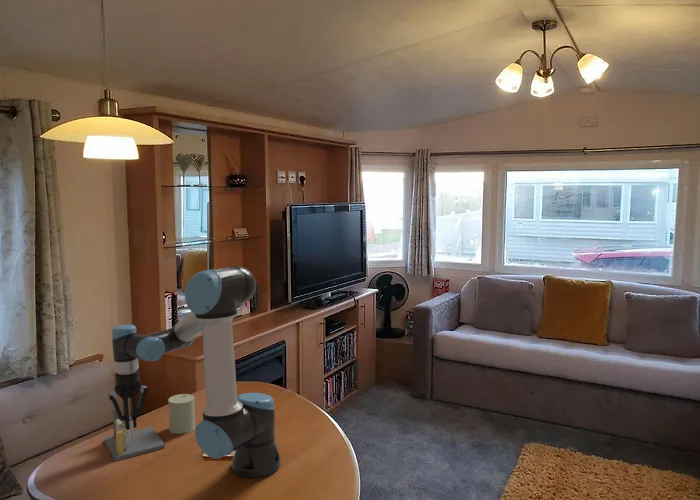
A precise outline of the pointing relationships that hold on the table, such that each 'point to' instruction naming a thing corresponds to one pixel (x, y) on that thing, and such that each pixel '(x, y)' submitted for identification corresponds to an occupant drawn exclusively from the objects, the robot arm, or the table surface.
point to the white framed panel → (120, 426)
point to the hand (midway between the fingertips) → (131, 437)
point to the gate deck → (132, 442)
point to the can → (181, 414)
